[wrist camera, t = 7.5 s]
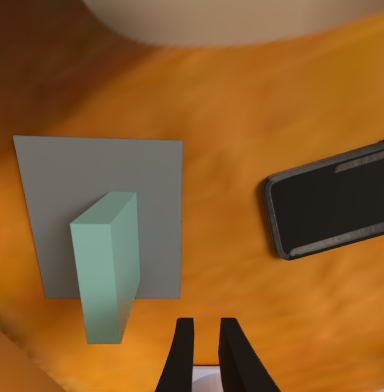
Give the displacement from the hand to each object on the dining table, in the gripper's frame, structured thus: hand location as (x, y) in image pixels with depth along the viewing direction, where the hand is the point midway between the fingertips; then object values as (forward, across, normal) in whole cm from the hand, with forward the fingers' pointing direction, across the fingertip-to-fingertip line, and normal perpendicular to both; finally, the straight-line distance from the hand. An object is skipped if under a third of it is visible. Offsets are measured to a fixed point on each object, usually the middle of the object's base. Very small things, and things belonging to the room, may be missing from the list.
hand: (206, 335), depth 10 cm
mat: (+9, +7, -1) cm, 12 cm away
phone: (+10, -13, -4) cm, 17 cm away
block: (+9, +6, 0) cm, 11 cm away
